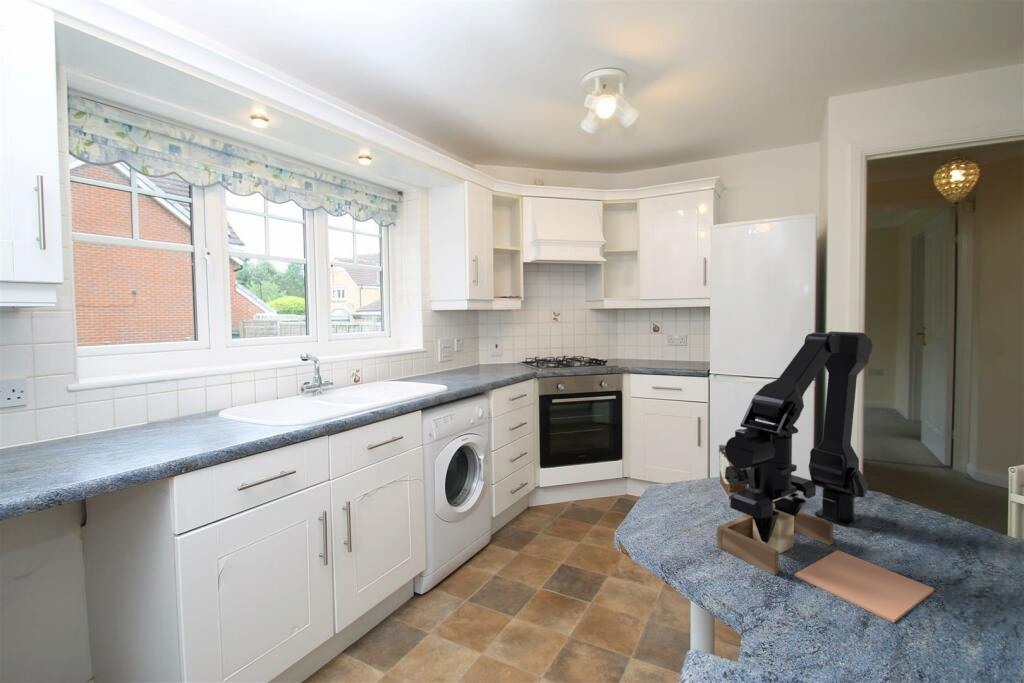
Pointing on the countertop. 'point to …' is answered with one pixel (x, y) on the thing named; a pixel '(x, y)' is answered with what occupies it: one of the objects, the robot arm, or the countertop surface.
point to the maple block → (779, 532)
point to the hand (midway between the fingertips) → (772, 537)
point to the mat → (865, 585)
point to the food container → (724, 484)
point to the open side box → (760, 555)
